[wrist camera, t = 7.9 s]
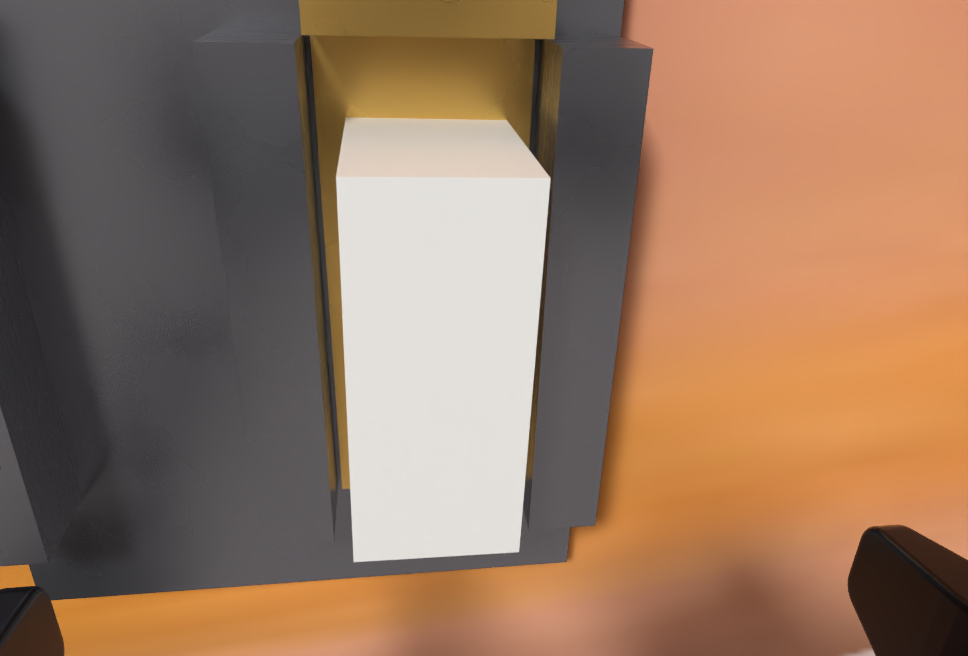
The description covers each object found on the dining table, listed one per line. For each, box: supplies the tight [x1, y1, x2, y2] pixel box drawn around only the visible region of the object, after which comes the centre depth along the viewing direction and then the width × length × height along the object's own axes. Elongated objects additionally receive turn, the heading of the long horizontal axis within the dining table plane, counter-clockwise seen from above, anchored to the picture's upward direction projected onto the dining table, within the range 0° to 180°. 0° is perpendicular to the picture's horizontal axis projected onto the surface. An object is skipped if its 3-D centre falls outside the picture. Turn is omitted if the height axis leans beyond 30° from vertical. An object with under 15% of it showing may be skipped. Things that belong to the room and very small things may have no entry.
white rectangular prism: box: [336, 117, 551, 562], centre depth 14 cm, size 7×3×4 cm, turn 177°
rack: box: [0, 0, 653, 600], centre depth 15 cm, size 16×13×3 cm
